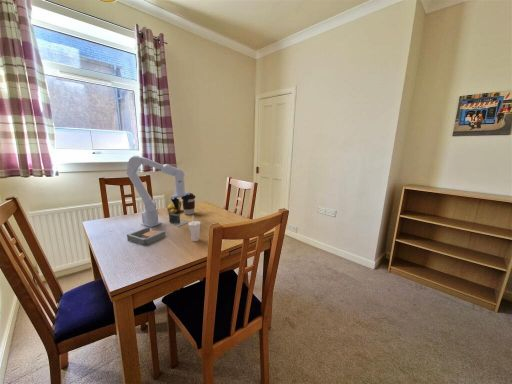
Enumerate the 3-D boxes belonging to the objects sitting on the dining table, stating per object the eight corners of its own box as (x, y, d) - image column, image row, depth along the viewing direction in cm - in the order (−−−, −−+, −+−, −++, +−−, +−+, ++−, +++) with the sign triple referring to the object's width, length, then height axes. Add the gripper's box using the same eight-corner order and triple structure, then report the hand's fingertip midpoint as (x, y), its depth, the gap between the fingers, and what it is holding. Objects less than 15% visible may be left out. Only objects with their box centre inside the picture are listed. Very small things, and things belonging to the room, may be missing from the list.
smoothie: (190, 237, 119) (189, 213, 116) (202, 237, 120) (201, 213, 117) (188, 242, 113) (186, 217, 110) (200, 242, 114) (199, 217, 111)
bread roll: (177, 214, 157) (177, 204, 155) (164, 214, 156) (163, 204, 155) (182, 209, 169) (182, 199, 168) (170, 209, 169) (169, 199, 167)
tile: (142, 237, 119) (142, 234, 119) (153, 233, 125) (152, 230, 125) (151, 240, 116) (151, 236, 116) (161, 235, 122) (161, 232, 122)
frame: (127, 239, 115) (126, 234, 114) (148, 231, 126) (148, 226, 126) (145, 245, 109) (144, 240, 108) (165, 236, 121) (165, 231, 120)
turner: (166, 223, 139) (165, 215, 138) (175, 219, 146) (175, 212, 145) (178, 226, 135) (178, 218, 134) (187, 222, 142) (187, 214, 141)
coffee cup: (198, 212, 163) (197, 193, 160) (190, 216, 154) (189, 196, 151) (187, 210, 166) (186, 192, 163) (179, 214, 157) (178, 194, 154)
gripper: (175, 190, 132) (177, 211, 135) (192, 186, 145) (193, 205, 148) (167, 189, 135) (169, 209, 138) (184, 185, 148) (185, 204, 151)
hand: (181, 207), depth 143 cm, fingers open, 7 cm apart
